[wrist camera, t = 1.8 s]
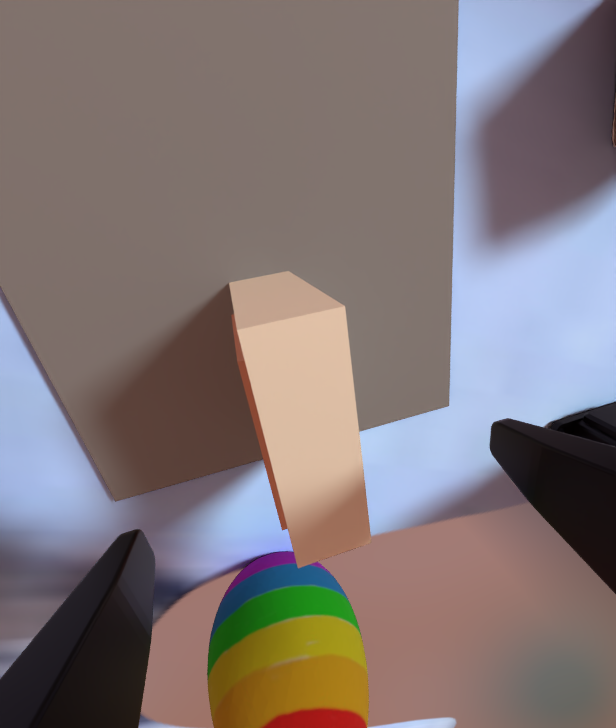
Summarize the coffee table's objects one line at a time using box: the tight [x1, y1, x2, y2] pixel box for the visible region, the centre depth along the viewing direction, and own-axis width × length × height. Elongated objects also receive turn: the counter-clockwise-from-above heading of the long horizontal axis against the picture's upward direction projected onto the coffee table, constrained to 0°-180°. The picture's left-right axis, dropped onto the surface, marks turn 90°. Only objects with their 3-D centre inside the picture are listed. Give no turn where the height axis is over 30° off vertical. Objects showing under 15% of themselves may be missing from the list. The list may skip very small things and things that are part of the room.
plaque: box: [229, 271, 371, 568], centre depth 12 cm, size 8×3×7 cm, turn 9°
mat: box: [0, 0, 459, 501], centre depth 13 cm, size 23×18×1 cm
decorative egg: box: [207, 551, 369, 728], centre depth 17 cm, size 8×8×10 cm
